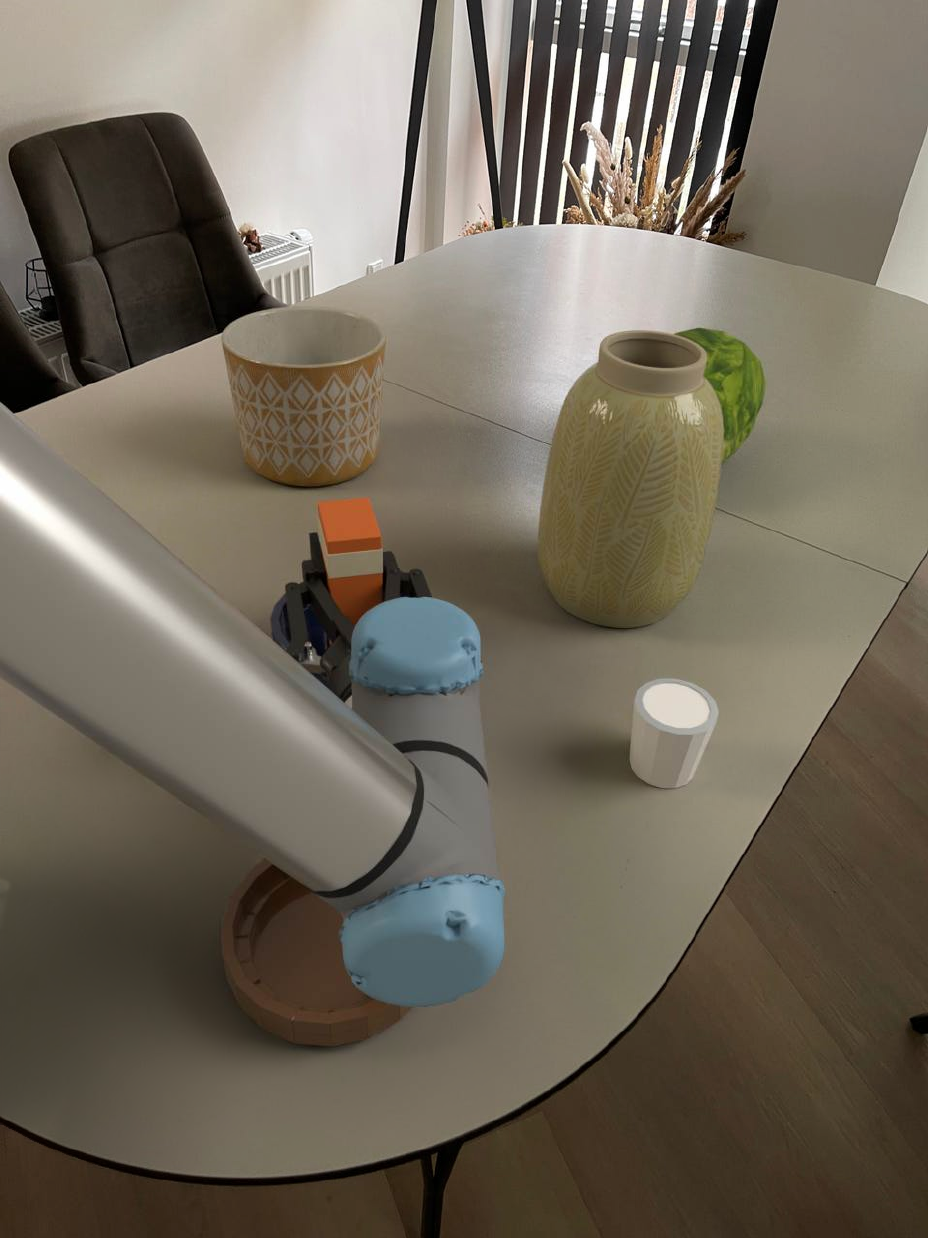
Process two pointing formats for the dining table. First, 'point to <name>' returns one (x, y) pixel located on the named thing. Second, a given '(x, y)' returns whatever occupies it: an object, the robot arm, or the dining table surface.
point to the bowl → (295, 964)
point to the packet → (351, 555)
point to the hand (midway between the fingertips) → (342, 542)
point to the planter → (306, 392)
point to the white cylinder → (670, 731)
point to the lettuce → (731, 382)
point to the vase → (631, 481)
